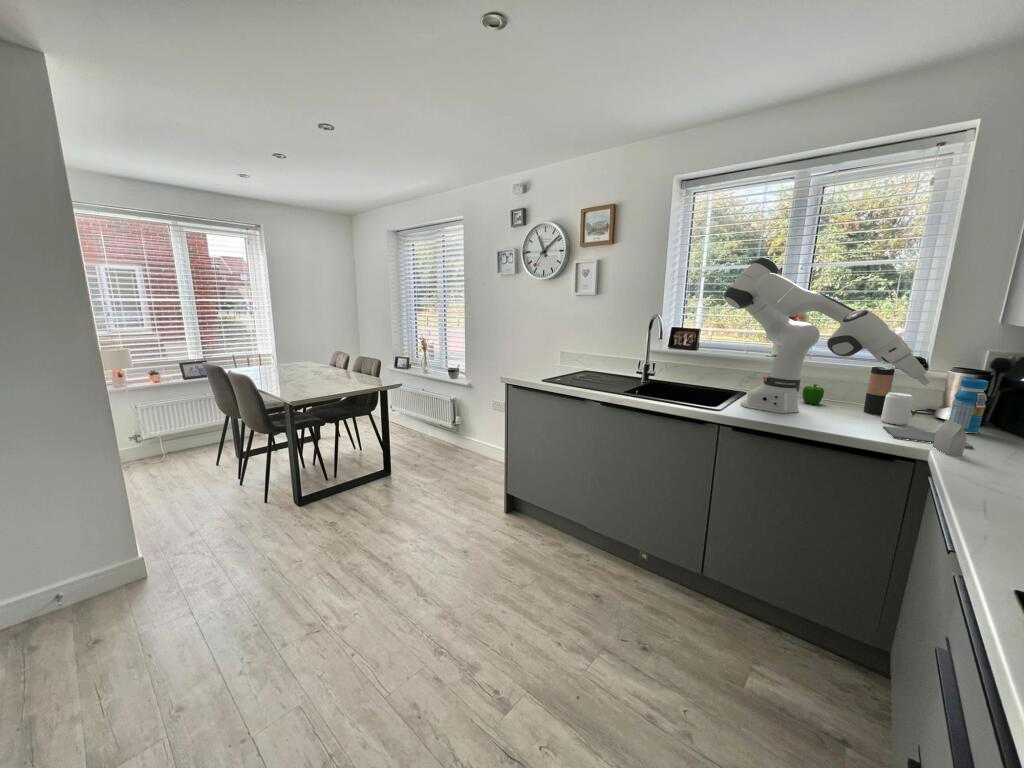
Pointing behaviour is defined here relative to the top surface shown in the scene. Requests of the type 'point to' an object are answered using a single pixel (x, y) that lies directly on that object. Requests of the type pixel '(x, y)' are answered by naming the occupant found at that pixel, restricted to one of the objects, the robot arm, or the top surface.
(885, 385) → the travel mug
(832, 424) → the top surface
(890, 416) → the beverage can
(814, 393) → the bell pepper
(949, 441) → the grey block
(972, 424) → the beverage bottle
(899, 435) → the charcoal mat
